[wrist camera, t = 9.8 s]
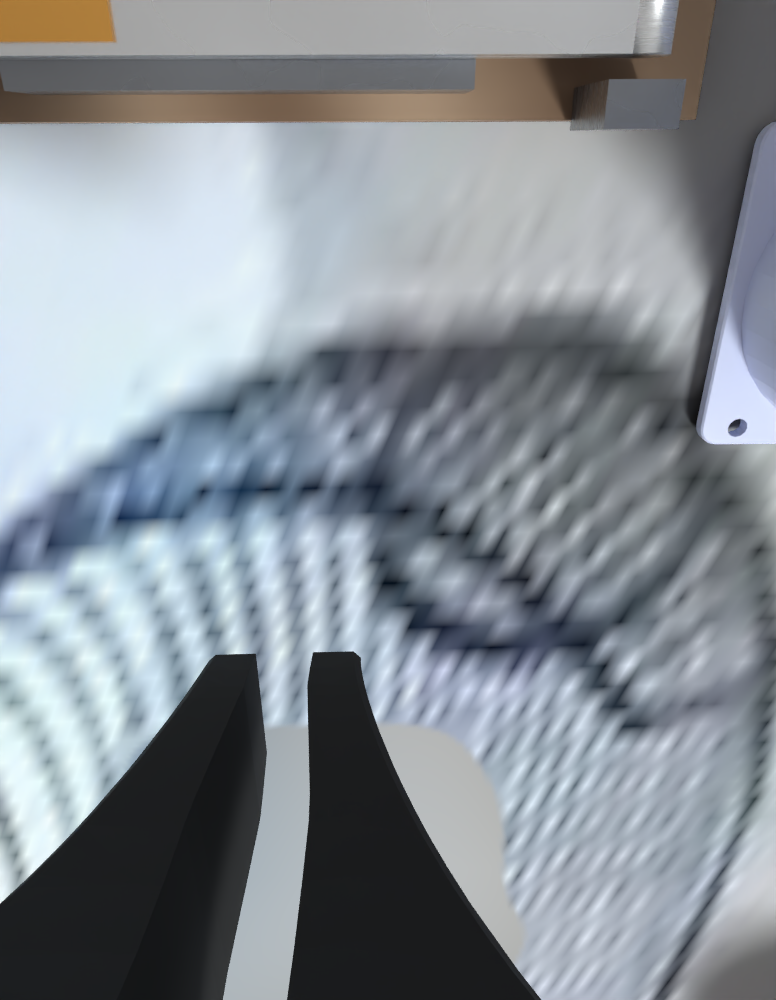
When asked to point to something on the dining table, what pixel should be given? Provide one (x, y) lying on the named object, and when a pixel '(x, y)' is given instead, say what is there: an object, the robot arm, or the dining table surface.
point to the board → (496, 98)
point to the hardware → (335, 83)
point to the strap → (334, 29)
